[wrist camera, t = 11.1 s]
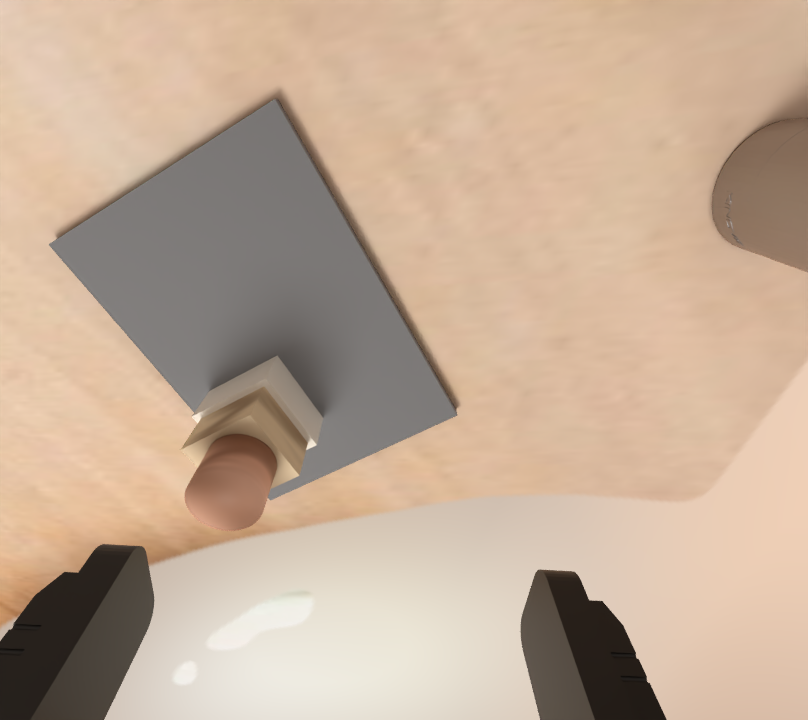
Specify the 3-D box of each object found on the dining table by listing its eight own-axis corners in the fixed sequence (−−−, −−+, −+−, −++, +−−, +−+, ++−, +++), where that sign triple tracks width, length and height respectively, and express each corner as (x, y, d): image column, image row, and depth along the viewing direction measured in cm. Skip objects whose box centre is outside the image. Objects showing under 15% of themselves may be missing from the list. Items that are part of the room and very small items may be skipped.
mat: (277, 99, 32) (274, 98, 32) (455, 409, 44) (457, 415, 43) (57, 241, 36) (48, 244, 35) (272, 493, 47) (270, 500, 46)
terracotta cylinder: (249, 422, 33) (232, 459, 30) (290, 473, 35) (279, 513, 31) (191, 451, 34) (168, 490, 30) (235, 499, 36) (217, 540, 32)
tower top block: (264, 386, 36) (250, 414, 33) (308, 443, 39) (299, 475, 35) (200, 418, 38) (180, 449, 34) (247, 472, 40) (232, 506, 36)
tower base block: (277, 355, 40) (266, 378, 36) (323, 417, 42) (316, 445, 39) (209, 391, 41) (191, 416, 37) (257, 449, 44) (246, 478, 40)
